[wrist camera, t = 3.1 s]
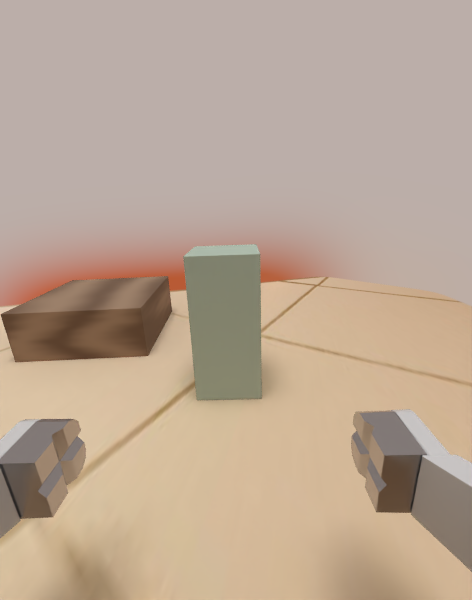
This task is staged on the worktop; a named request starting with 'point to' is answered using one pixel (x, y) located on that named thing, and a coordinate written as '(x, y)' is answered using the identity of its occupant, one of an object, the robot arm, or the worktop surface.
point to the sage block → (225, 320)
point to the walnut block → (90, 320)
